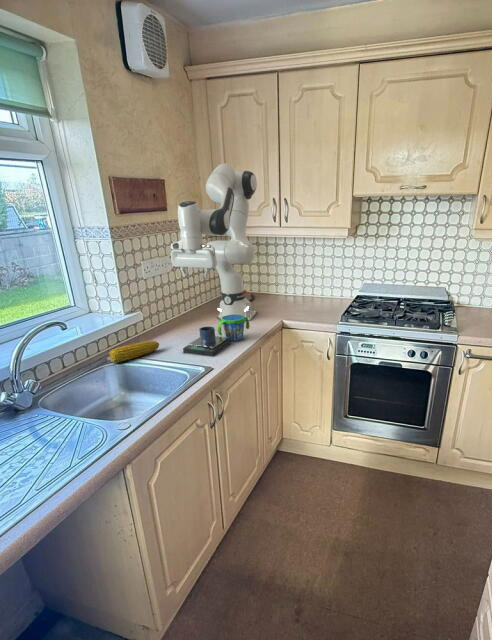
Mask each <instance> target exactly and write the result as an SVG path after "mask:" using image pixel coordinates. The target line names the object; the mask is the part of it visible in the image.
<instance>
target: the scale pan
mask: <svg viewBox="0 0 492 640" xmlns="http://www.w3.org/2000/svg"><path fill="white" fill-rule="evenodd" d="M227 339H228V337H226V336H216V335H215V342H212V343H202V342H201V340H200V336H199V337H197V338H195V339H194V340H192V341H191V342H189V343H188V344H187V346H191V347H201V348H209V349H214V348H216V347H217V346H218V345H220V344H221V343H223V342H224V341H226V340H227Z"/></svg>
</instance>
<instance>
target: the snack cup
mask: <svg viewBox="0 0 492 640" xmlns="http://www.w3.org/2000/svg"><path fill="white" fill-rule="evenodd" d="M245 319H246V320H245ZM222 325H223V331H224V335H225V337H228V339H231V342H238V341H240V340H243V338H244V331H245V328H246V329H247V330H249V329H250V326H251V325H250V320H248V319H247V318H246V317H245V316H243V315H237V314H233V315H226V316H223V317H222V318H221V319H220V321H219V323H218V326H217V334H218V335H219V336H220V337H223V332H222Z"/></svg>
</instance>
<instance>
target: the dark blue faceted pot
mask: <svg viewBox="0 0 492 640" xmlns="http://www.w3.org/2000/svg"><path fill="white" fill-rule="evenodd" d="M215 330H216V329H215V327H214V326H202V327H200V328H199V329H198V332H199V337H200V340H201V342H202V343H212V342H215V336H216V331H215Z"/></svg>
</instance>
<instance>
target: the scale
mask: <svg viewBox="0 0 492 640" xmlns="http://www.w3.org/2000/svg"><path fill="white" fill-rule="evenodd" d="M231 344H232V341H231V339H227V340H226V341H224V342H223V343H221V344H220V345H218V346H217V347H216V348H214V349H209V348H201V347H191V346H188V345H186V346H184V347H182V350H183V353H184V354H191V355H199V356H200V355H201V356H208V357H214V356H216V355H217V354H219V353H220V352H221V351H222V350H224V349H225V348H227V347H228V346H230V345H231Z"/></svg>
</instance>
